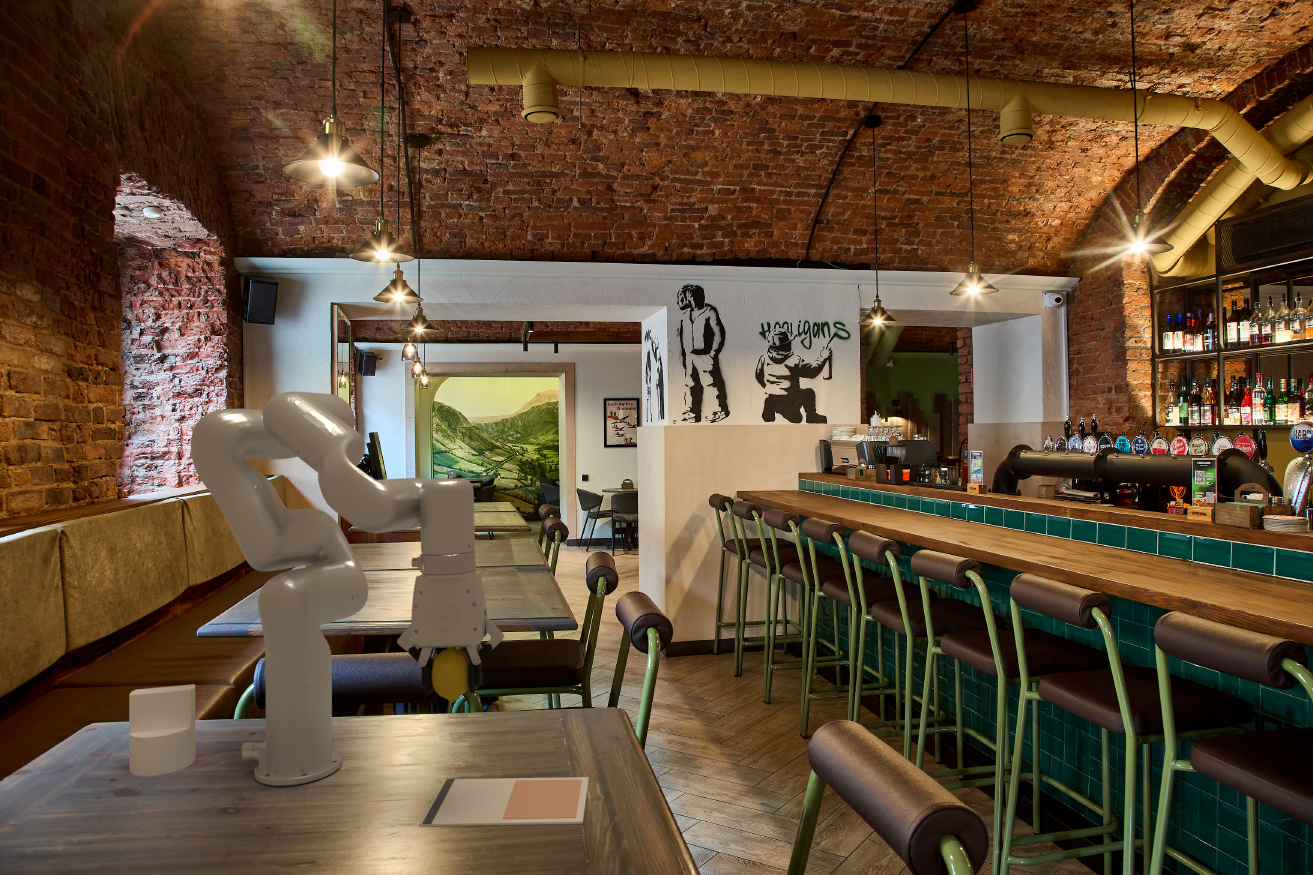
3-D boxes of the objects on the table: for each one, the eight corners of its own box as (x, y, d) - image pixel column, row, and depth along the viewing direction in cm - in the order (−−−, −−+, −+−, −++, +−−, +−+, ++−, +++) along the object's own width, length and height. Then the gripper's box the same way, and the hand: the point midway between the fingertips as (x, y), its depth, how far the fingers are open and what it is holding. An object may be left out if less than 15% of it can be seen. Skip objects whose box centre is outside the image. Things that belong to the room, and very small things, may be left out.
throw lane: (419, 826, 105) (419, 823, 105) (444, 781, 119) (444, 778, 119) (582, 823, 106) (582, 820, 106) (588, 778, 120) (588, 776, 120)
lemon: (477, 695, 115) (475, 641, 115) (463, 708, 109) (462, 650, 109) (441, 695, 115) (439, 641, 115) (425, 708, 110) (424, 651, 110)
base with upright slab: (201, 750, 132) (201, 678, 132) (187, 771, 123) (187, 695, 123) (139, 757, 129) (139, 684, 129) (121, 779, 120) (121, 701, 121)
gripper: (379, 570, 109) (383, 701, 108) (503, 566, 109) (507, 697, 109) (397, 563, 116) (401, 685, 116) (513, 559, 116) (517, 681, 116)
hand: (452, 689), depth 112 cm, fingers closed on lemon, 5 cm apart
